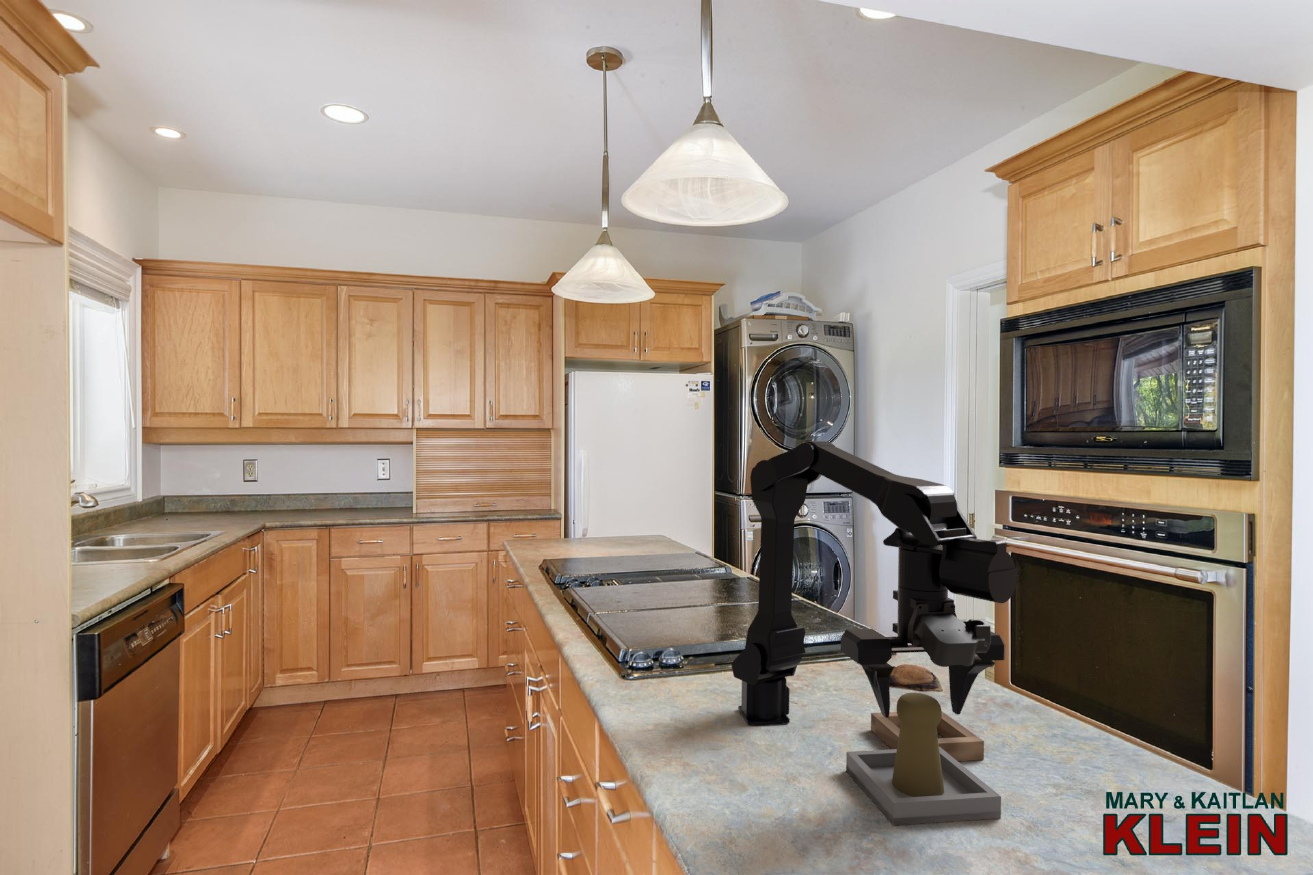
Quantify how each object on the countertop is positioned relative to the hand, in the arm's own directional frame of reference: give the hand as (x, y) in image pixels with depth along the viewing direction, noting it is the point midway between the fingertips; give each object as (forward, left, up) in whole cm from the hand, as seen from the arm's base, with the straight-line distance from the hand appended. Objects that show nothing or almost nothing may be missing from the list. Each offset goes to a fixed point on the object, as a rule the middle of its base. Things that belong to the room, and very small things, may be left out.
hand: (921, 714), depth 87 cm
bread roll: (+19, +38, -10) cm, 43 cm away
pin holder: (+8, +13, -10) cm, 18 cm away
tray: (0, 0, -10) cm, 10 cm away
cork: (0, 0, -9) cm, 9 cm away
